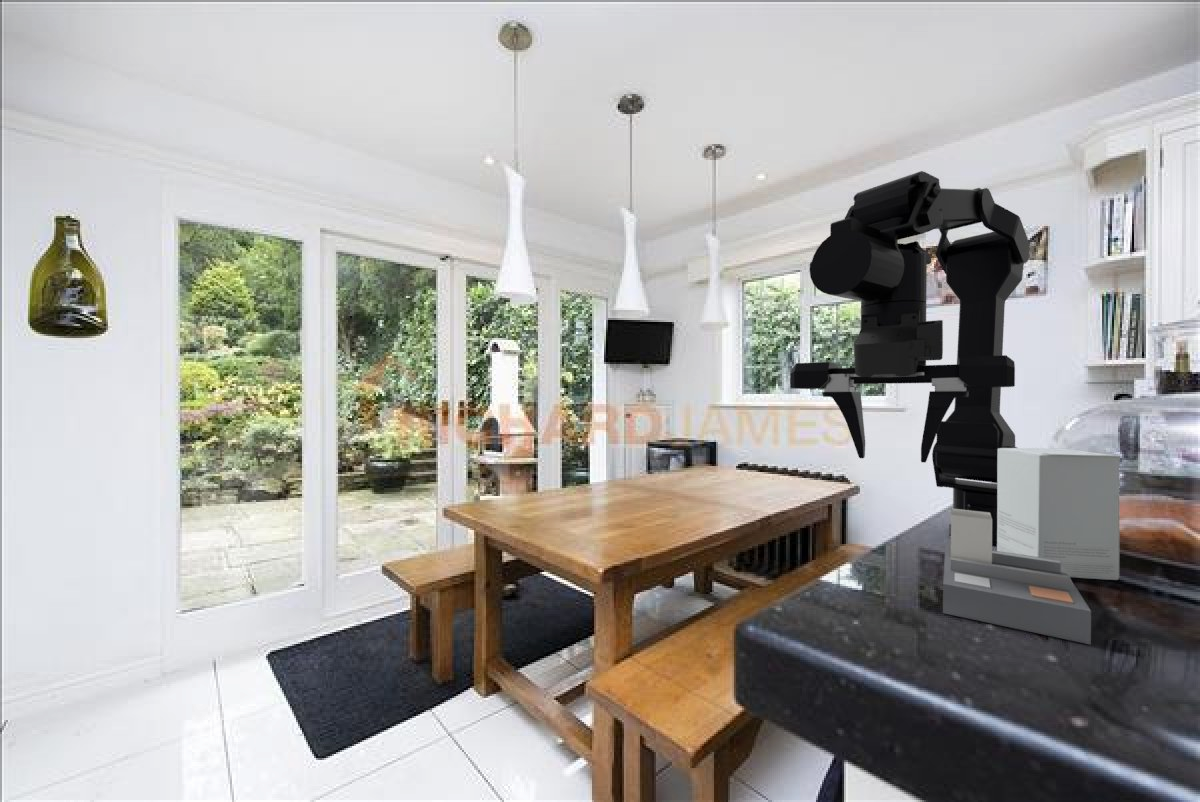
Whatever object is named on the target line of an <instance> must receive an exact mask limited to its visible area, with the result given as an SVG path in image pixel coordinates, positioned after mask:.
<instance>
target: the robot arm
mask: <svg viewBox="0 0 1200 802" xmlns="http://www.w3.org/2000/svg"><path fill="white" fill-rule="evenodd" d="M853 201H854V202H853V205H851V206H850V207H849V209H848V211H847V212H846V215H845V217H844V219H841V220H840V219H839V220H836V221H833V222H831V223H830V231H829V232H830V235H829V236H827V238H826V239H824V240H823V241H822V242H821V243H820V245H818V247H817V248H816V251H815V252H814V254H813V257H812V260H811V261H810V264H809V276H810V279H811V280H810V281H811V282H812V284H813V286H814V287H815V289H817V290H818V291H819V292H821V293H823V294H826V295H829V296H834V297H839V298H844V299H847V300H851V301H859V302H860V330H859V333H858V335H857V336H856V338H855V339H854V341H853V353H854V367H839V364H838V363H834V362H830V361H825V362H824V361H822V362H821V361H820V362H798V363H795V364H794V365H793V367H792V368H791V371H790V373H789V374H790V375H789V376H790V377H789V378H790V379H789V380H790V381H789V385H790V386H789V388H790V389H795V390H796V389H799V390H800V389H801V390H819V389H820V390H821V389H822V390H823V389H824V391H822V392H821V394H822V397H823V398H824V397H825V398H829V397H830V398H832V399H833V402H835V404H836V405H837V407H838V409H839V411H840V412H841V414H842V417H843V419H844V420H845V422H846V425H847V427H848V430H849V433H850V436H851V439H852V442H853V444H854V447H855V450H856V453H857V456H858V458H859V459H864V458H865V457H866V455H865V454H866V435H865V425H864V414H863V405H862V404H863V403H862V392H861V391H855V390H856V389H855V388H856V387H857V386H858V385H868V384H869V385H874V384H875V385H877V384H878V385H879V384H880V385H882V384H883V385H884V384H885V385H887V384H931V386H932V387H934V391H929V394H928V401H927V409H926V415H925V421H924V426H923V427H924V428H923V433H922V440H921V446H920V462H921V463H927V461H928V457H929V455H930V452H931V449H932V452H931V455H932V457H931V458H932V464H933V471H934V478H935V483H936V487H938V488H949V489H952V509H961V510H970V511H979V512H989V513H990V514H991V517H992V544H996V545H997V455H998V448H1018V447H1017V446H1016V434H1015V433H1014V432H1013V430H1012V428H1011V426H1010V425H1009V424H1008V423H1007V421H1006V420H1005V419H1004V417H1003V416H1002V415H1001V396H1002V395H1001V390H1002V388H1013V387H1015V386H1016V384H1015V382H1016V374H1015V373H1016V364H1015V361H1014V360H1013V359H1012V358H1011V357H1009V356H1007V355H1006V354H1005V355H1003V351H1004V348H1003V346H1004V345H1003V344H1004V330H1005V329H1004V327H1005V306H1006V301H1007V299H1008V298H1009V297H1010V296H1011V294H1012V293H1013V292H1014V291H1015V290H1016V288H1017V287H1018V285H1020V283H1021V282H1022V280H1023V273H1024V266H1025V265H1024V264H1026V263H1028V261H1029V258H1030V242H1029V238H1028V236H1027V233H1026V230H1025V228H1024V225H1023V223H1022V220H1021V217H1020V216H1019V215H1018V214H1016V213H1014V212H1012V211H1011V210H1009V209H1007V208H1005V207H1003V206H1001V205H999V204H997V203H995V199H994V198H993V196H992V193H991V191H990V189H989V188H987V187H984V188H980V187H977V188H974V189H967V188H966V189H965V188H943V187H942V188H941V186H940V179H939V178H938V177H936V176H934V175H932V174H930V173H928V172H926V171H923V170H921V171H918V172H915V173H912V174H909V175H906V176H903V177H900V178H898V179H895V180H891V181H888V182H886V183H882V184H879V185H877V186H873V187H872V188H871V187H870V188H868V189H865V190H862V191H859V192H857V193H855V195H854V196H853ZM980 223H982V225H983V227H985V228H986V229H988V230H990V231H991V232H987V233H981V234H977V235H972V236H969V237H968V236H967V237H964V238H960V239H959V238H958V239H956V240H954V241H953V242H952V243H951V242H950V240H949V238H948V233H949V231H950V230H955V229H959V228H962V227H968V226H971V225H976V224H980ZM933 230H939V232H940V238H939V241H938V244H937V247H936V250H935V256H936V258H937V261H938V262H939V265H940V266H941V268H942V270H943V272H944V274H945V277H946V278H945V279H946V280H945V281H946V284H947V286H949V288H950V289H951V290H952V292H953V294H955V296H956V297H957V299H958V300H959V311H958V312H959V313H958V314H959V315H958V317H959V318H958V332H957V333H958V336H957V351H956V354H957V355H956V357H957V358H956V364H934V365H933V364H931V365H929V364H928V365H927V361H941V360H942V359H943V352H944V350H943V349H944V347H943V346H944V344H943V343H944V341H943V340H944V337H943V336H944V329H943V326H944V325H943V323H944V321H943V320H941V319H937V320H928V321H927V279H928V278H927V268H928V267H927V266H928V265H930V264H931V263H932V257H931V256H930V253H929V252H928V251H926V250H925V249H923V248H922V246H921V245H920V243H919V241H917V240H915V241H911V242H907V243H898V240H902V239H906V238H911V237H916V236H918V235H923V234H925V233H929V232H932V231H933ZM953 402H954V408H953V411H952V412H951V413H950V415H949V416H948V417H947V418H946V420H943V419H944V417H945V415H946V414H947V412H948V410H949V409H950V407H951V405H952V403H953ZM935 438H936V441H935ZM934 441H935V443H934ZM933 444H934V445H933ZM932 446H933V448H932ZM948 525H949V526H948V528H949V529H948V537H949V536H951V523H950V524H948Z"/></svg>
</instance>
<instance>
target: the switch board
mask: <svg viewBox="0 0 1200 802" xmlns="http://www.w3.org/2000/svg"><path fill="white" fill-rule="evenodd" d="M943 565H944V566H943V580H942V581H943V582H942V583H943V584H942V589H943V590H942V614H946V615H950V616H955V617H960V618H964V619H969V620H974V621H979V622H983V623H989V624H992V625H997V626H1000V627H1001V626H1002V627H1006V628H1007V627H1008V628H1011V629H1015V630H1020V631H1025V632H1030V633H1034V634H1040V635H1044V636H1048V637H1053V638H1058V639H1063V640H1066V641H1072V642H1076V643H1081V644H1082V643H1083V644H1086V645H1090V646H1091V645H1092V610H1091V609H1090V607H1089V605H1088V604H1087V602H1086V601H1085V599H1084V598H1083V596H1082V594H1081V593H1080V591H1079V590H1078V588H1077V587H1076V586H1075V584H1074V583H1073V580H1072V579H1071V578H1072V577H1069V576H1068V574H1067V573H1066V571H1065V569H1064V568H1063V566H1062V565H1061V563H1060V561H1059V560H1056V559H1049V558H1042V557H1035V556H1028V555H1021V554H1014V553H1008V552H1001V551H997V550H993V549H992V564H989V563H983V562H977V561H970V560H964V559H958V558H951V543H945V545H944V564H943Z"/></svg>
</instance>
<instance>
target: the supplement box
mask: <svg viewBox="0 0 1200 802" xmlns="http://www.w3.org/2000/svg"><path fill="white" fill-rule="evenodd" d="M996 484H997V544H996V551H1001V552H1008V553H1014V554H1021V555H1028V556H1035V557H1042V558H1049V559H1056V560H1059V561H1060V563H1061V565H1062V566H1063V568H1064V569H1065V571H1066V573H1067V574H1068V576H1069V577H1070V578H1077V579H1096V580H1106V581H1108V580H1109V581H1110V580H1111V581H1118V580H1119V579H1120V456H1119V455H1116V454H1108V453H1099V452H1092V451H1086V450H1078V449H1070V448H1054V447H1053V448H1052V447H1051V448H1046V447H1045V448H1044V447H1040V448H1039V447H1038V448H1037V447H1035V448H1034V447H1017V448H998V455H997V483H996Z"/></svg>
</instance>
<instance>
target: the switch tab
mask: <svg viewBox="0 0 1200 802" xmlns="http://www.w3.org/2000/svg"><path fill="white" fill-rule="evenodd" d="M950 524H951V537H950V544H951V558H958V559H964V560H970V561H977V562H983V563H989V564H992V550H993V543H992V517H991V514H990V513H989V512H979V511H970V510H961V509H953V507H952V508H950Z"/></svg>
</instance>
